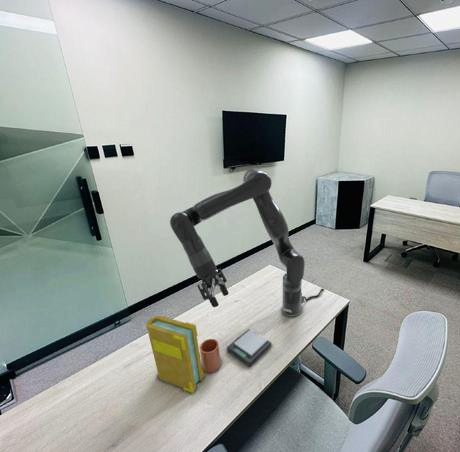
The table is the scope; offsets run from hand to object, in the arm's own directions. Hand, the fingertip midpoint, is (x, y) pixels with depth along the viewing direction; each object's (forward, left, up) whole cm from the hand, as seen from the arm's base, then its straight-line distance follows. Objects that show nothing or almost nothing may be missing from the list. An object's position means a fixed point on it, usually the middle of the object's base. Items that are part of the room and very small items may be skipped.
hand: (221, 300), depth 100 cm
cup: (+8, 0, -27) cm, 28 cm away
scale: (-7, +6, -27) cm, 28 cm away
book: (+19, -5, -27) cm, 33 cm away
